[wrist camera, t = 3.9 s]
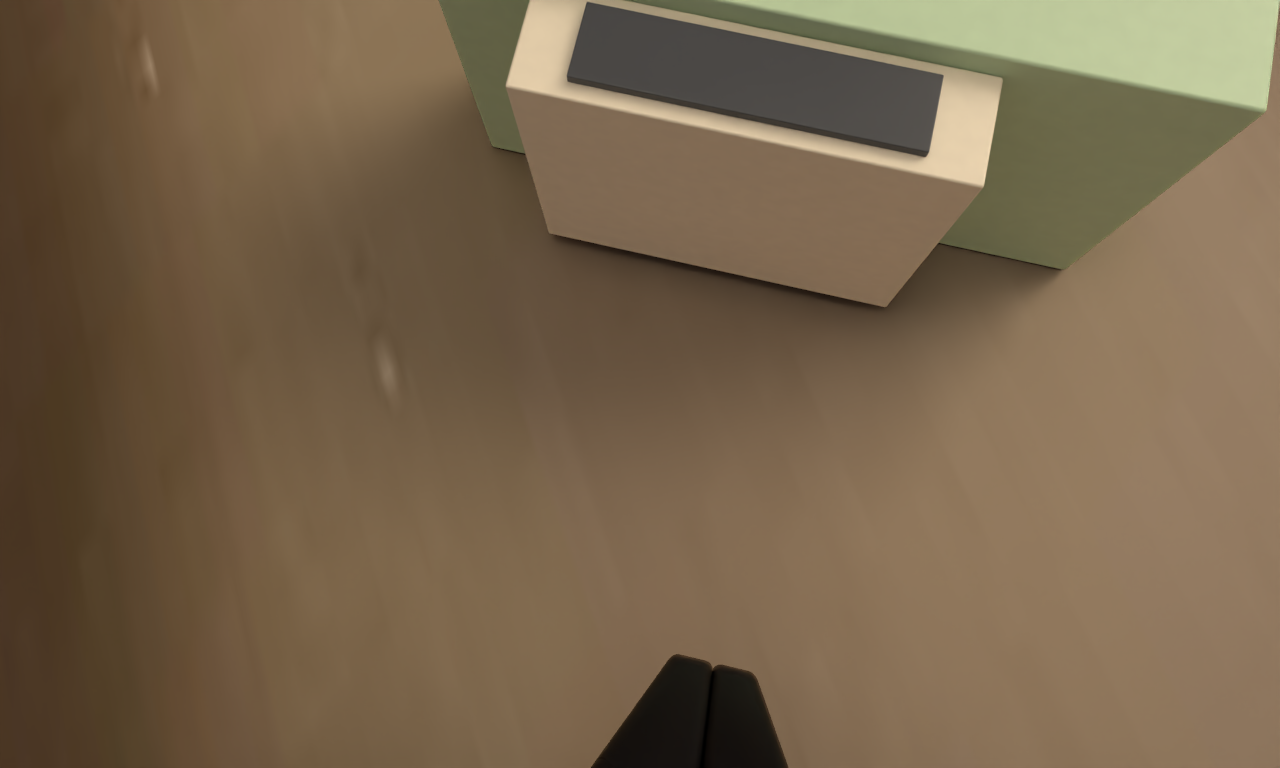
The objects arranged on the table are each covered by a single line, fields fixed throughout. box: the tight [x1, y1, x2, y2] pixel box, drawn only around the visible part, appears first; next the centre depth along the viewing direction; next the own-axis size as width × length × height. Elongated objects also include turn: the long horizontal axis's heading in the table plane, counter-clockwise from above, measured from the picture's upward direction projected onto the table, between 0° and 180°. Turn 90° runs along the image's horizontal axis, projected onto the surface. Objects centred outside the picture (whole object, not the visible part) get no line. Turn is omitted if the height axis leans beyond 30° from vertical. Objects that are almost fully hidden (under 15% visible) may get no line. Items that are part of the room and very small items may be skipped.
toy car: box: [439, 0, 1280, 307], centre depth 20 cm, size 14×6×8 cm, turn 77°
